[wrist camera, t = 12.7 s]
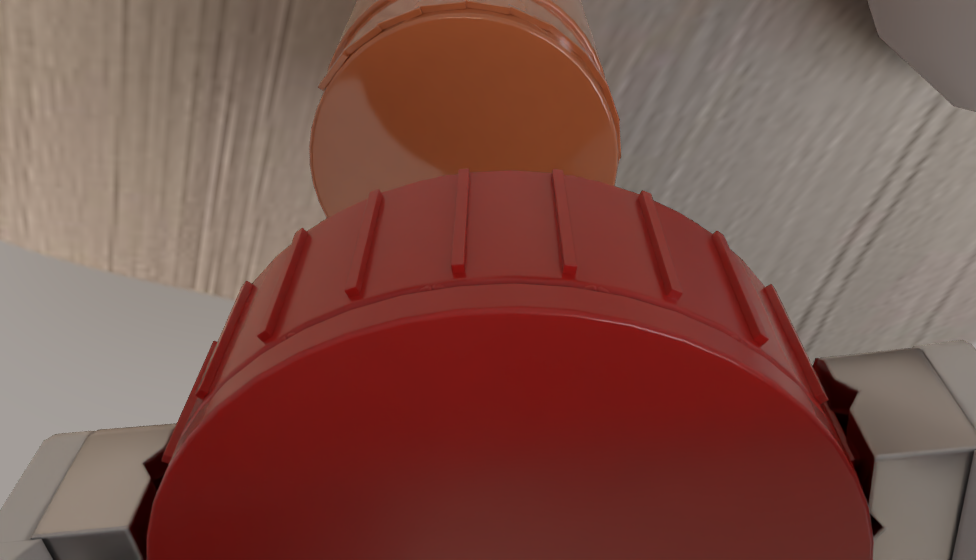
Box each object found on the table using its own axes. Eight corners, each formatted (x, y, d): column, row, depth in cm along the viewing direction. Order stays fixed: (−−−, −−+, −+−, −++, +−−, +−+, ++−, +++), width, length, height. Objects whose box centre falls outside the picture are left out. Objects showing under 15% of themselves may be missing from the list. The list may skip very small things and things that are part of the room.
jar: (615, -18, 26) (691, 144, 16) (488, 131, 28) (489, 349, 19) (452, -159, 24) (429, -69, 14) (330, 15, 26) (242, 191, 17)
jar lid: (92, 425, 11) (-5, 600, 9) (513, 14, 8) (521, 123, 6) (500, 678, 13) (501, 860, 11) (919, 431, 11) (1023, 608, 9)
